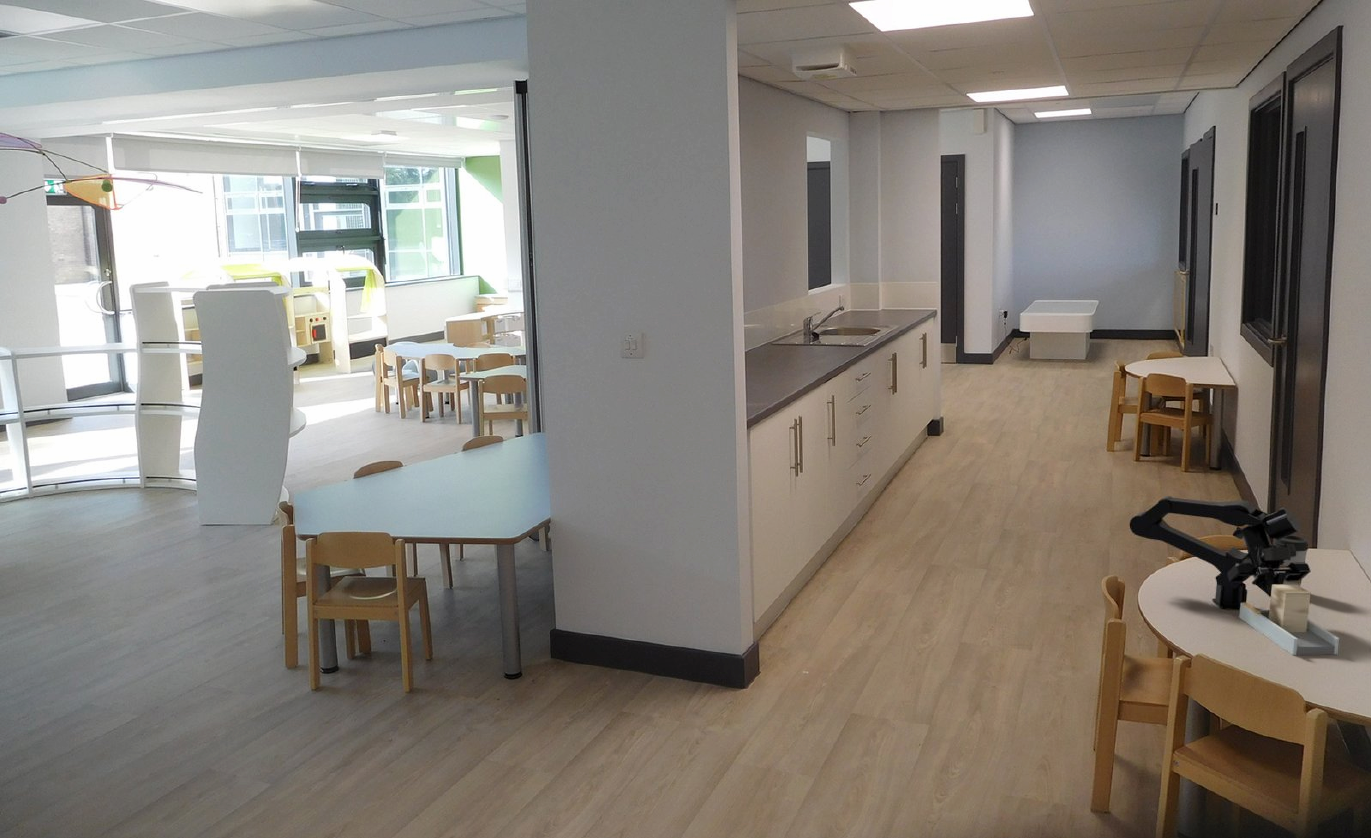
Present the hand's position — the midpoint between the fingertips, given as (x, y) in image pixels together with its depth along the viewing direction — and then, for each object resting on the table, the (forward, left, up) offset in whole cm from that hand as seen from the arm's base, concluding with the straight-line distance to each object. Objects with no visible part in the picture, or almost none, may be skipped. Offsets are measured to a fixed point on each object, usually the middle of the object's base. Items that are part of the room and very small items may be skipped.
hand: (1279, 603), depth 270 cm
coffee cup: (+15, +28, -7) cm, 32 cm away
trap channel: (0, -5, -6) cm, 8 cm away
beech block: (0, -5, -4) cm, 7 cm away
